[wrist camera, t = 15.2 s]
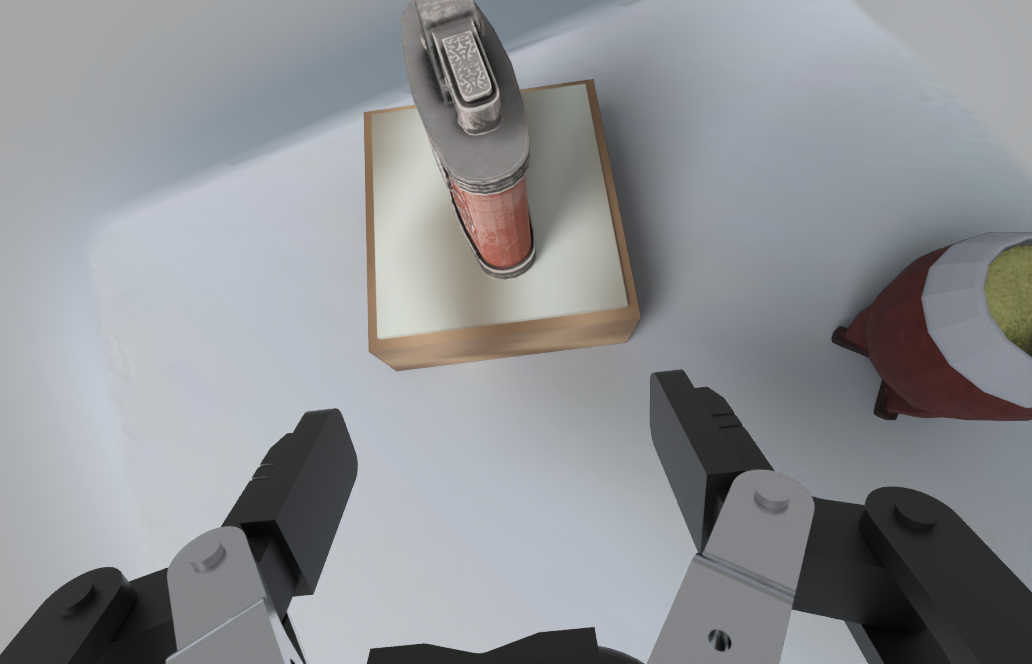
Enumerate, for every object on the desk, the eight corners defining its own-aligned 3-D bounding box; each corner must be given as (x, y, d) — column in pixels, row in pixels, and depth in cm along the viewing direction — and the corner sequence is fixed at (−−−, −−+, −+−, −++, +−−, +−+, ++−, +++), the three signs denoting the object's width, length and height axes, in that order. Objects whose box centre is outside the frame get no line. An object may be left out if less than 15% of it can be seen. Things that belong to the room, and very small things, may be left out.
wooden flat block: (587, 132, 29) (593, 74, 24) (626, 342, 25) (642, 315, 21) (388, 160, 29) (361, 107, 25) (396, 371, 25) (366, 349, 21)
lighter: (433, 146, 24) (354, -75, 14) (498, 126, 24) (463, -108, 14) (479, 289, 21) (421, 138, 12) (551, 266, 22) (551, 98, 12)
